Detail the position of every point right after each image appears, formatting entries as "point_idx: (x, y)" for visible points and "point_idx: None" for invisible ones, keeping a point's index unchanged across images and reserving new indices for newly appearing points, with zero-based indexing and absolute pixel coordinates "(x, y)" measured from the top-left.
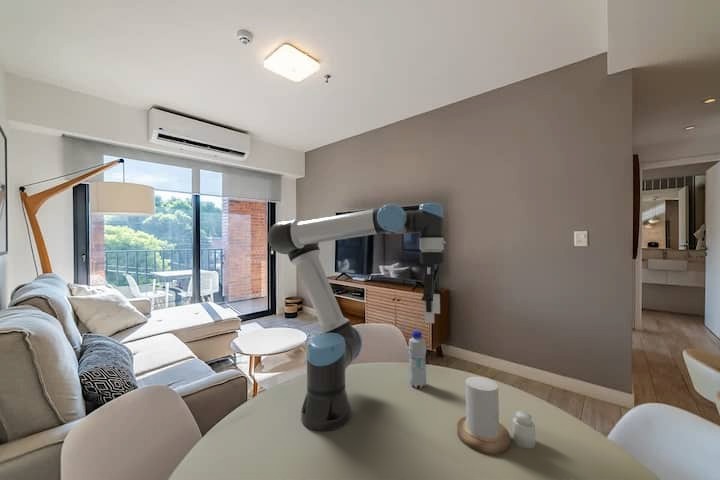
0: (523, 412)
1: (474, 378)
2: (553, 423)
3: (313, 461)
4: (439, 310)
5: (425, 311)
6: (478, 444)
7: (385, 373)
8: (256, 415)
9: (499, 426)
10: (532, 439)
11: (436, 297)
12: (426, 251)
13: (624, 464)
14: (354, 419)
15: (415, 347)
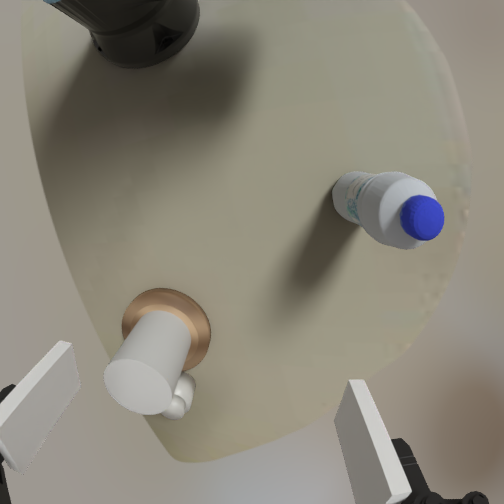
0: (179, 413)
1: (155, 380)
2: (250, 428)
3: (40, 74)
4: (339, 434)
5: (26, 382)
6: (122, 321)
7: (399, 99)
8: None
9: (185, 363)
10: None
11: (366, 496)
12: None
13: (182, 455)
14: (146, 75)
15: (369, 205)
